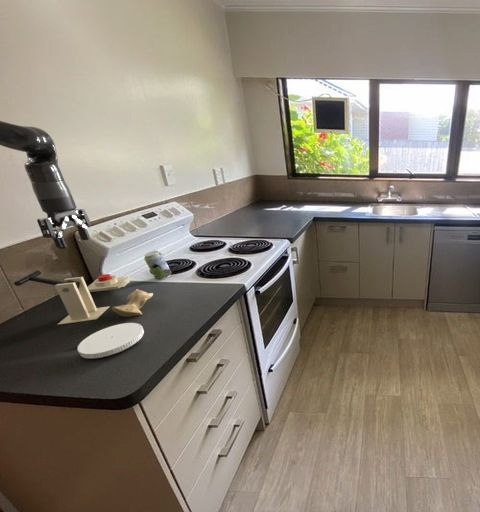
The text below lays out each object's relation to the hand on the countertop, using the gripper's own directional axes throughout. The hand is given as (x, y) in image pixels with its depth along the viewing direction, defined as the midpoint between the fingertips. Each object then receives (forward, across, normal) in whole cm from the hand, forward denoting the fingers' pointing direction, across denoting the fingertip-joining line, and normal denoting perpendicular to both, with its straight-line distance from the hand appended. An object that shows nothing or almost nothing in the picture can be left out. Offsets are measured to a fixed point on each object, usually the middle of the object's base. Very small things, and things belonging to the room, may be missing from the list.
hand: (74, 243), depth 96 cm
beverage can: (+23, -18, +11) cm, 31 cm away
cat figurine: (+23, +8, +19) cm, 31 cm away
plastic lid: (+23, +26, +23) cm, 42 cm away
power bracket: (+22, +11, +4) cm, 25 cm away
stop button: (+19, -11, -5) cm, 22 cm away
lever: (+10, +12, -1) cm, 15 cm away
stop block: (+22, -11, -5) cm, 26 cm away
